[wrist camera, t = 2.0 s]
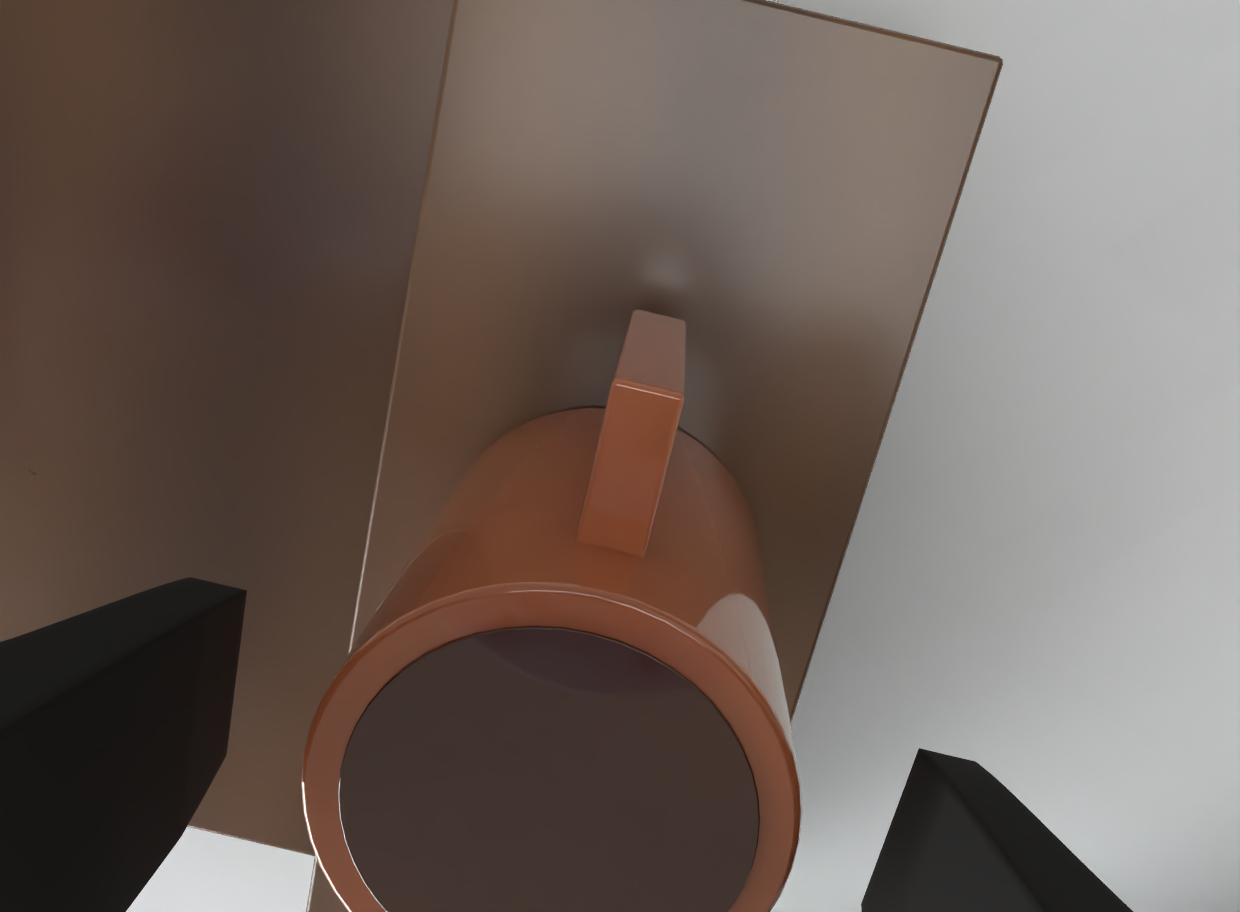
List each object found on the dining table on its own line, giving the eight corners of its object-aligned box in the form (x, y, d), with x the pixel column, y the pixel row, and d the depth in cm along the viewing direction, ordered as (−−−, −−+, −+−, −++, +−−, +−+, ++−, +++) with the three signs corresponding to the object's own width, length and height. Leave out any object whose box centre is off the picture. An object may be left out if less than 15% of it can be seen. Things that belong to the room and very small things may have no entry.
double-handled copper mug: (407, 712, 17) (258, 1025, 11) (492, 257, 14) (360, 349, 9) (701, 781, 17) (708, 1129, 11) (832, 338, 14) (927, 483, 9)
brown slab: (27, 725, 21) (-95, 837, 18) (72, -139, 16) (-85, -206, 13) (695, 880, 21) (696, 1020, 18) (942, 69, 16) (1007, 57, 13)
